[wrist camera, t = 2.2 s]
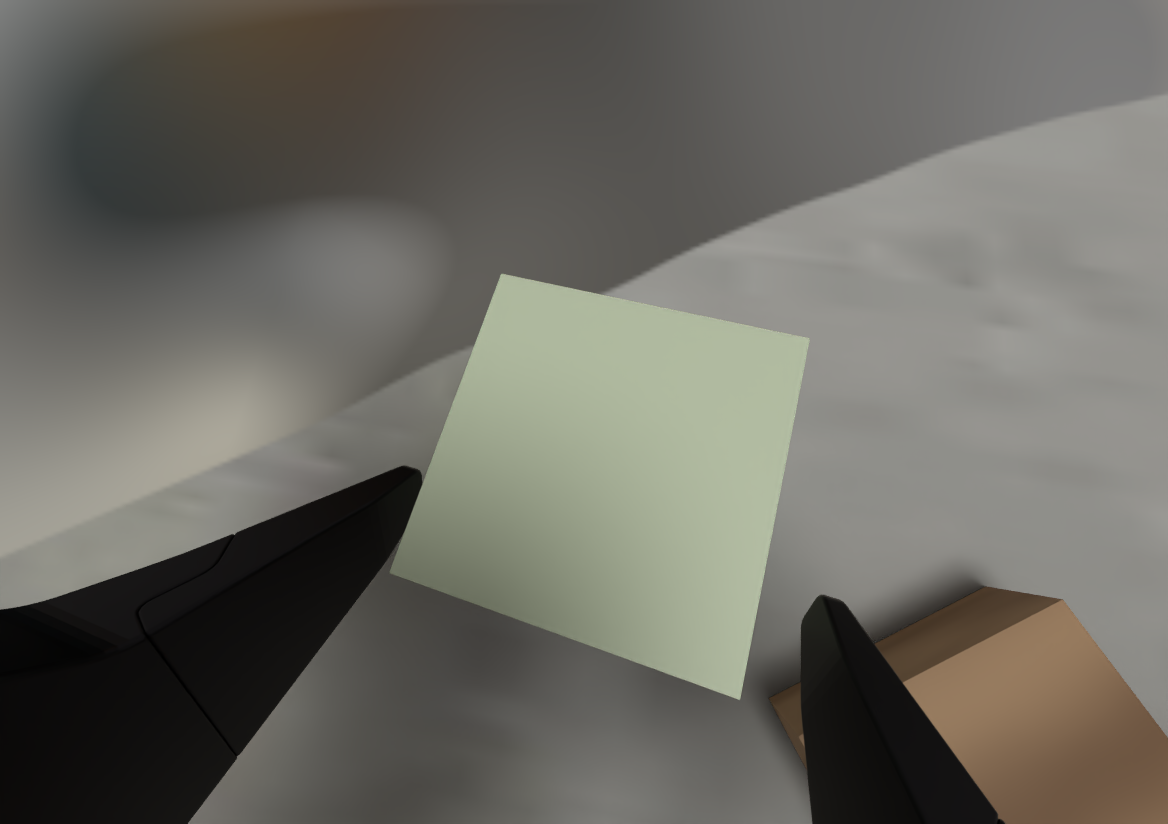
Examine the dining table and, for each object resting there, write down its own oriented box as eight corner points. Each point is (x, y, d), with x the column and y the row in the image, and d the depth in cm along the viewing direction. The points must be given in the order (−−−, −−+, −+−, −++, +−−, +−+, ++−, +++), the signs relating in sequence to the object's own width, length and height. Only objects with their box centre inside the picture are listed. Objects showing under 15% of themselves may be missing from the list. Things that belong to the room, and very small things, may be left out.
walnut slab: (1186, 867, 13) (1335, 959, 11) (930, 1002, 13) (1011, 1133, 10) (985, 586, 16) (1062, 599, 13) (768, 698, 16) (798, 736, 13)
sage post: (664, 575, 17) (739, 699, 5) (558, 541, 18) (388, 573, 6) (690, 467, 18) (809, 338, 6) (588, 439, 19) (501, 273, 7)
